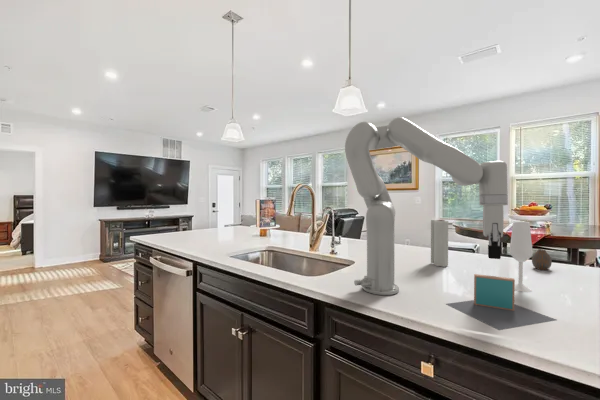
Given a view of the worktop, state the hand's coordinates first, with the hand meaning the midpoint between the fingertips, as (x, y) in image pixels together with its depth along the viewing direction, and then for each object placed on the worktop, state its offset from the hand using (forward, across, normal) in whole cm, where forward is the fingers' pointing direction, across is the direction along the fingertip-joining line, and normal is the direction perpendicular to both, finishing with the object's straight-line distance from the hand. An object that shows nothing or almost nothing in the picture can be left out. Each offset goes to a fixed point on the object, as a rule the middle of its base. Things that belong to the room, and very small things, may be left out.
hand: (494, 258), depth 95 cm
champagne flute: (+14, -18, +9) cm, 25 cm away
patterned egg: (+15, -56, +22) cm, 62 cm away
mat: (+14, +11, 0) cm, 17 cm away
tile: (+13, +7, -1) cm, 15 cm away
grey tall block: (+14, -43, -19) cm, 49 cm away
